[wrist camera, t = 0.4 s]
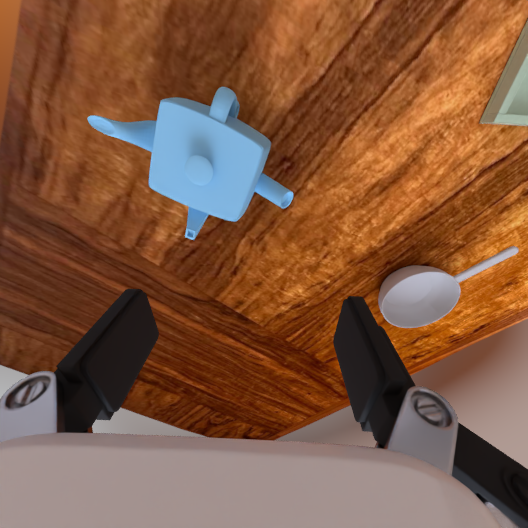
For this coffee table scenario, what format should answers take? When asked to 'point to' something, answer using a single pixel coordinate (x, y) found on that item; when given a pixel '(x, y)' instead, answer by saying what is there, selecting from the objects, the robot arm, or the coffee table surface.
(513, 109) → the tray
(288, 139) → the coffee table surface
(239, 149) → the teapot
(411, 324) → the small pan
